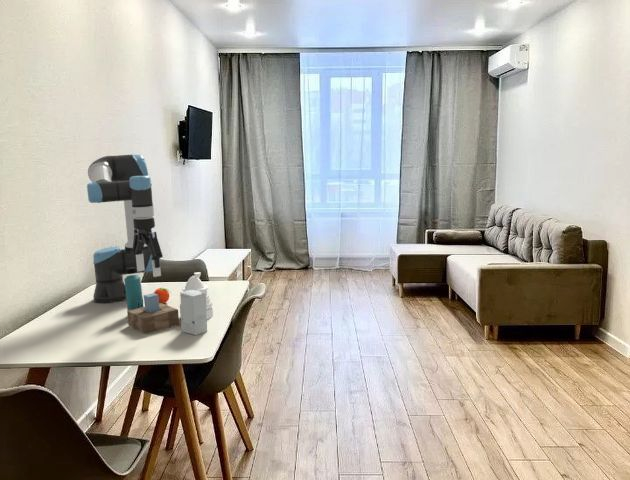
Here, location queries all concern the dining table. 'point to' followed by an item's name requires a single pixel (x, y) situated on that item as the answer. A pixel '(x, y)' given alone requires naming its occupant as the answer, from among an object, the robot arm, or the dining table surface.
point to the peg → (151, 303)
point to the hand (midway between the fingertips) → (148, 273)
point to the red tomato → (162, 295)
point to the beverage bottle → (133, 290)
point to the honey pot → (197, 285)
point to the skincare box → (193, 312)
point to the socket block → (153, 319)
